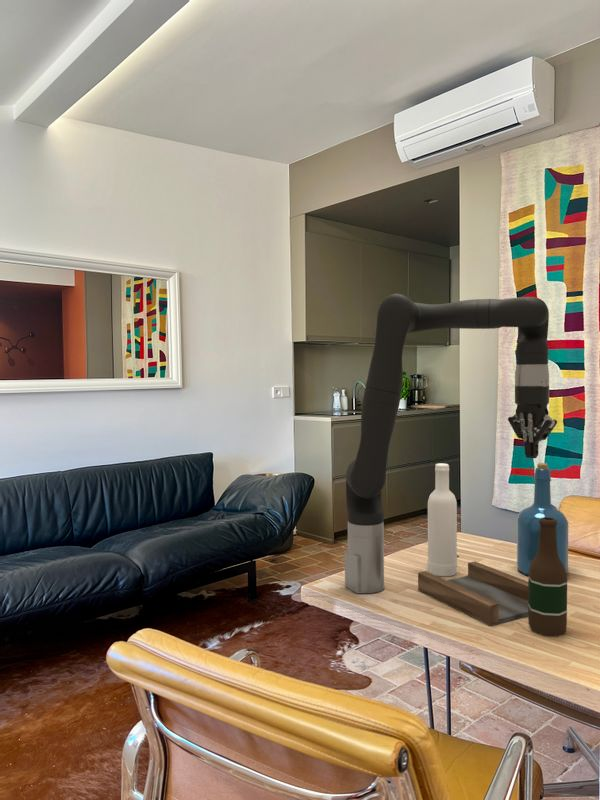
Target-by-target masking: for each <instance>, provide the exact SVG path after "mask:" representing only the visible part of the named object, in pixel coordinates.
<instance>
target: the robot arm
mask: <svg viewBox="0 0 600 800" xmlns="http://www.w3.org/2000/svg"><path fill="white" fill-rule="evenodd" d="M549 313H550V312H549V308H548V306H547V303H546V302H545V301H544V300H543V299H541V298H539V297H535V296H519V297H511V298H504V299H501V298H500V299H498V298H482V299H481V298H479V299H478V298H475V299H465V300H460V301H453V302H448V303H441V304H440V303H439V304H435V303H434V304H432V303H431V304H429V303H421V302H414V301H413V300H411V299H410V298H409V297H408V296H406V295H404V294H400V293H392V294H390V295H388V296H386V297H385V298H384V299H383V300H382V302H381V303H380V305H379V307H378V309H377V317H376V330H375V339H374V346H373V352H372V357H371V360H370V364H369V368H368V375H367V379H366V382H365V386H364V387H365V388H364V391H363V397H362V401H361V402H362V403H361V411H360V413H361V414H360V421H361V422H360V441H359V446H358V448H357V449H358V450H357V453H356V457H355V459H354V460H353V461H351V462H350V464H349V465H348V466H347V470H346V474H345V490H346V491H345V496H346V499H345V500H346V512H347V513H346V515H347V549H345V550H344V587H345V588H348V589H349V590H351V591H352V592H354V593H356V594H374V593H379V592H381V591H383V590H384V589H385V539H384V537H385V536H384V535H385V534H384V533H385V530H384V528H385V523H384V519H385V518H384V513H385V512H384V507H383V502H382V501H383V500H382V491H383V488H384V487H385V485H386V479H387V477H386V476H387V465H388V457H389V448H390V443H391V439H392V435H393V432H394V428H395V424H396V420H397V415H398V412H399V407H400V403H401V398H402V393H403V386H404V385H403V381H404V380H403V379H404V373H403V370H404V369H403V351H404V345H405V342H406V338H407V334H411V333H416V332H421V331H422V332H423V331H429V330H442V329H461V330H463V329H467V330H469V329H470V330H471V329H472V330H473V329H475V330H476V329H479V330H483V329H484V330H489V329H490V330H491V329H500V328H517V343H516V348H515V349H516V350H515V371H514V403H515V404H516V409H515V414H513V415H512V416H509V417H508V418H507V421H508V422H509V424H510V426H511V428H512V430H513V432H514V433H515V435H516V437H517V438H518V439H521V440H523V442H524V455H525V458H526V459H537V458H538V456H539V444H540V442H541V441H546V440H547V438H548V437H549V435H550V434H551V433H552V432H553V430H554V428H555V427H556V426H557V424H558V420H557V419H555V418H554V419H553V418H552V417H551V416H550V415H549V413H550V412H549V410H548V405H549V403H550V371H549V345H548V336H549V335H548V334H549V321H550V319H549V317H550V314H549Z"/></svg>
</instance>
